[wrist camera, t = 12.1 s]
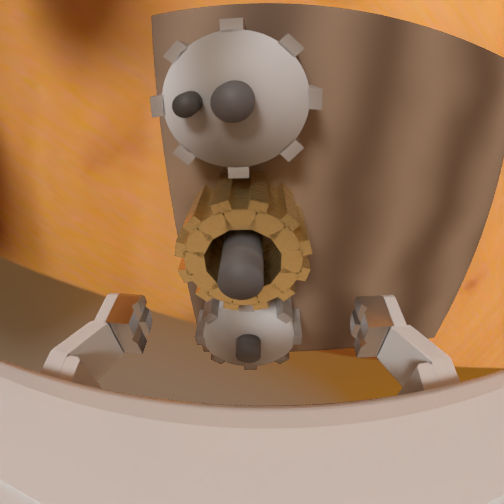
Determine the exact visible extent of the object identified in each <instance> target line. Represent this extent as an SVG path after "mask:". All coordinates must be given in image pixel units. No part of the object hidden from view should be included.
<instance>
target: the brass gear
mask: <svg viewBox="0 0 504 504" xmlns="http://www.w3.org/2000/svg"><path fill="white" fill-rule="evenodd" d="M229 230H254V231H256V232H258V233H260V234H262V235H264V236H266V237H269V238H271V239H272V240H271V242H270V243H269V244H268V245H266V246H264V247H263V270H264V286H263V289H262V291H261V292H260V293H259V294H258V295H257V296H255V297H253V298H251V299H247V300H236V299H232V298H229V297H227V296H226V295H224V294H223V293H222V292H221V291H220V289H219V287H218V284H217V280H218V274H219V268H220V261H221V255H222V249H223V243H222V242H221V240H220V239H219V238H218V236H220V235H222V234H224V233H226V232H227V231H229ZM309 254H312V250H311V245H310V241H309V237H308V233H307V229H306V225H305V221H304V218H303V214H302V210H301V207H300V205H298V206H296V205H295V201H294V197H293V193H292V191H291V190H290V189H289V188H287V187H286V186H285V185H284V184H283V183H280V184H279V185H278V186H277V187H276V188H275V187H273V186H271V185H269V184H267V174H263V173H259V172H254V171H252V172H251V175H250V179H237V178H231V179H228V173H227V174H224V175H220V176H219V179H218V182H217V185H216V188H214V189H211V188H209V187H208V186H207V185H206V184H205V185H204V187H203V188H202V189H201V190H200V191H199V192H198V193H197V194H196V196H195V199H194V201H193V203H192V206H191V208H190V209H189V211H188V214H187V216H186V218H185V221H184V223H183V226H182V228H181V231H180V233H179V236H178V238H177V241H176V246H175V256H177V257H182V260H181V263H180V266H179V269H178V272H179V274H180V276H181V278H182V279H183V281H184V283H186V282H190V281H193V282H194V283H195V284H196V285H197V290H196V295H197V296H199V297H200V298H202V299H204V300H205V301H207V302H208V301H209V300H211V299H212V298H215V299H217V300H220V301H222V302H224V304H223V308H225V309H231V310H236V311H238V308H239V305H252V306H253V308H254V311H255V310H260V309H265V308H269V301H270V300H272V299H275V298H277V297H279V298H280V299H281V300H283V301H285V300H287V299H288V298H289V297H291V296H292V295H294V294H295V287H294V282H295V281H296V280H300V281H306V279H307V277H308V274H309V272H310V270H311V268H310V263H309V259H308V255H309Z"/></svg>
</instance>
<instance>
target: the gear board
mask: <svg viewBox="0 0 504 504" xmlns="http://www.w3.org/2000/svg"><path fill="white" fill-rule="evenodd" d="M152 36H153V52H154V65H155V77H156V88H157V95H155V96H152V97H150V103H151V111H152V117H159V116H160V125H161V133H162V140H163V148H164V155H165V162H166V169H167V176H168V182H169V188H170V194H171V200H172V206H173V212H174V218H175V223H176V229H177V234H178V236H179V233H180V231H181V228H182V226H183V223H184V221H185V218H186V216H187V214H188V211H189V209H190V208H191V206H192V203H193V201H194V199H195V196H196V194H197V193H198V192H199V191H200V190H201V189H202V188H203V187H204V185H205V184H206V185H207V186H208V187H209V188H211V189H214V188H216V185H217V182H218V179H219V176H220V175H224V174H227V173H228V179H231V178H237V179H250V175H251V172H252V171H254V172H259V173H263V174H267V184H269V185H271V186H273V187H275V188H276V187H277V186H278V185H279V184H280V183H283V184H284V185H285V186H286V187H287V188H289V189H290V190H291V191H292V193H293V197H294V201H295V205H296V206H298V205H300V207H301V210H302V214H303V218H304V221H305V225H306V229H307V233H308V237H309V241H310V245H311V250H312V254H309V255H308V259H309V263H310V268H311V270H310V272H309V274H308V277H307V279H306V281H300V280H296V281H295V282H294V287H295V294H294V295H292V296H291V297H289V298H288V299H287V300H285V301H283V300H281V299H280V298H279V297H277V298H275V299H272V300H270V301H269V308H265V309H260V310H255V311H254V308H253V306H252V305H239V308H238V311H236V310H231V309H225V308H223V304H224V302H222V301H220V300H217V299H215V298H212V299H211V300H209V301H208V302H207V301H205V300H204V299H202V298H200V297H199V296H197V295H196V290H197V285H196V284H195V283H194V282H193V281H190V282H187V283H188V288H189V292H190V297H191V301H192V306H193V310H194V314H195V318H196V323H197V329H196V335H195V338H196V342H197V344H198V345H202V347H203V351H204V352H211V353H212V355H211V360H213V361H215V362H217V363H220V364H222V363H224V362H228V363H232V364H236V365H242V366H244V369H245V370H248V369H250V370H256V369H257V366H258V365H265V364H268V363H272V362H274V361H275V362H277V363H279V364H281V363H283V362H284V361H286V360H288V359H289V352H290V351H313V350H329V349H343V348H354V342H355V338H354V337H353V336H352V335H351V330H350V317H351V314H352V311H354V310H355V309H356V308H355V305H354V303H355V299H356V298H357V296H378V295H380V296H381V295H394V296H395V298H396V300H397V302H398V305H399V307H400V309H401V312H402V314H403V317H404V319H405V322H406V324H407V325H411V326H412V327H413V328H415V329H416V330H417V331H418V332H420V333H421V334H422V335H423V336H425V337H426V338H427V339H428V338H434V337H435V335H436V333H437V331H438V329H439V328H440V326H441V324H442V322H443V320H444V318H445V317H446V315H447V313H448V311H449V309H450V307H451V305H452V303H453V301H454V299H455V297H456V295H457V293H458V290H459V288H460V286H461V284H462V282H463V280H464V277H465V275H466V273H467V270H468V268H469V266H470V263H471V261H472V258H473V256H474V253H475V251H476V248H477V246H478V243H479V240H480V238H481V235H482V232H483V229H484V226H485V223H486V220H487V217H488V214H489V211H490V208H491V205H492V201H493V198H494V194H495V191H496V187H497V183H498V179H499V175H500V171H501V167H502V162H503V158H504V58H503V57H501V56H499V55H497V54H495V53H493V52H491V51H489V50H486V49H484V48H482V47H480V46H477V45H475V44H473V43H470V42H468V41H465V40H463V39H460V38H458V37H455V36H452V35H449V34H447V33H444V32H441V31H438V30H435V29H432V28H429V27H425V26H422V25H419V24H415V23H412V22H408V21H404V20H400V19H396V18H392V17H387V16H383V15H378V14H373V13H368V12H362V11H356V10H350V9H343V8H335V7H327V6H316V5H303V4H277V3H259V4H233V5H220V6H210V7H201V8H193V9H186V10H179V11H173V12H168V13H162V14H157V15H153V16H152ZM218 238H219V239H220V240H221V242H222V243H223V249H222V255H221V261H220V268H219V274H218V280H217V284H218V287H219V289H220V291H221V292H222V293H223V294H224V295H226V296H227V297H229V298H232V299H236V300H247V299H251V298H253V297H255V296H257V295H258V294H259V293H260V292H261V291H262V289H263V286H264V270H263V247H264V246H266V245H268V244H269V243H270V242H271V240H272V239H271V238H269V237H266V236H264V235H262V234H260V233H258V232H256V231H254V230H229V231H227V232H226V233H224V234H222V235H220V236H218Z"/></svg>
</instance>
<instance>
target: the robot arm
mask: <svg viewBox="0 0 504 504" xmlns="http://www.w3.org/2000/svg"><path fill="white" fill-rule="evenodd" d="M146 303H147V301H146V299H145V296H143V295H135V294H123V293H120V294H119V293H109V294H108V295H107V296H106V298H105V300H104V302H103V304H102V306H101V308H100V310H99V312H98V314H97V316H96V318H95V320H94V321H90V322H89V323H87V324H86V325H85V326H84V327H82V328H81V329H79V330H78V331H77V332H75V333H74V334H72V335H71V336H70V337H69V338H67V339H66V340H65V341H63V342H62V343H60V344H59V345H58V346H56V347H55V348H54V349H52V350H51V352H50V354H49V356H48V358H47V360H46V362H45V364H44V366H43V368H42V371H41V373H39V372H35V371H32V370H29V369H26V368H23V367H20V366H17V365H14V364H11V363H9V362H6V361H3V360H0V504H504V370H501V371H498V372H495V373H491V374H488V375H485V376H481V377H478V378H475V379H471V380H467V381H463V382H460V381H459V378H458V375H457V373H456V370H455V368H454V365H453V362H452V360H451V358H450V357H449V356H448V355H447V354H446V353H444V352H443V351H442V350H441V349H440V348H438V347H437V346H436V345H435V344H433V343H432V342H431V341H430V340H428V339H427V338H426V337H425V336H423V335H422V334H421V333H420V332H418V331H417V330H416V329H415V328H413V327H412V326H411V325H407V324H406V322H405V319H404V317H403V314H402V312H401V309H400V307H399V305H398V302H397V300H396V298H395V296H394V295H381V296H380V295H378V296H357V298H356V299H355V303H354V305H355V308H356V309H355V310H354V311H352V314H351V317H350V330H351V335H352V336H353V337H354V338H355V342H354V348H355V352H356V356H357V358H362V357H377V358H378V359H379V361H380V362H381V363H382V364H383V365H384V366H385V367H386V368H387V370H388V371H389V372H390V373H391V374H392V375H393V376H394V377H395V379H396V380H397V381H398V382H399V383H400V384H401V385H402V387H403V388H402V389H401V391H400V392H399V393H398V395H397V396H391V397H384V398H377V399H369V400H362V401H361V400H360V401H351V402H342V403H329V404H312V405H284V406H251V405H248V406H247V405H224V404H208V403H194V402H184V401H175V400H166V399H158V398H152V397H145V396H138V395H132V394H126V393H120V392H115V391H110V390H105V389H102V388H101V387H100V385H99V384H98V383H97V381H98V379H100V377H101V376H102V375H103V374H104V373H105V372H106V371H107V370H108V369H109V368H110V367H111V366H112V365H113V364H114V363H115V362H116V361H117V360H118V359H119V358H120V357H121V356H122V355H123V354H124V352H125V353H135V354H143V351H144V348H145V345H146V342H147V341H146V338H145V336H146V335H147V334H148V333H150V330H151V325H152V317H151V313H150V310H149V309H148V308H147V307H145V306H146Z"/></svg>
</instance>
